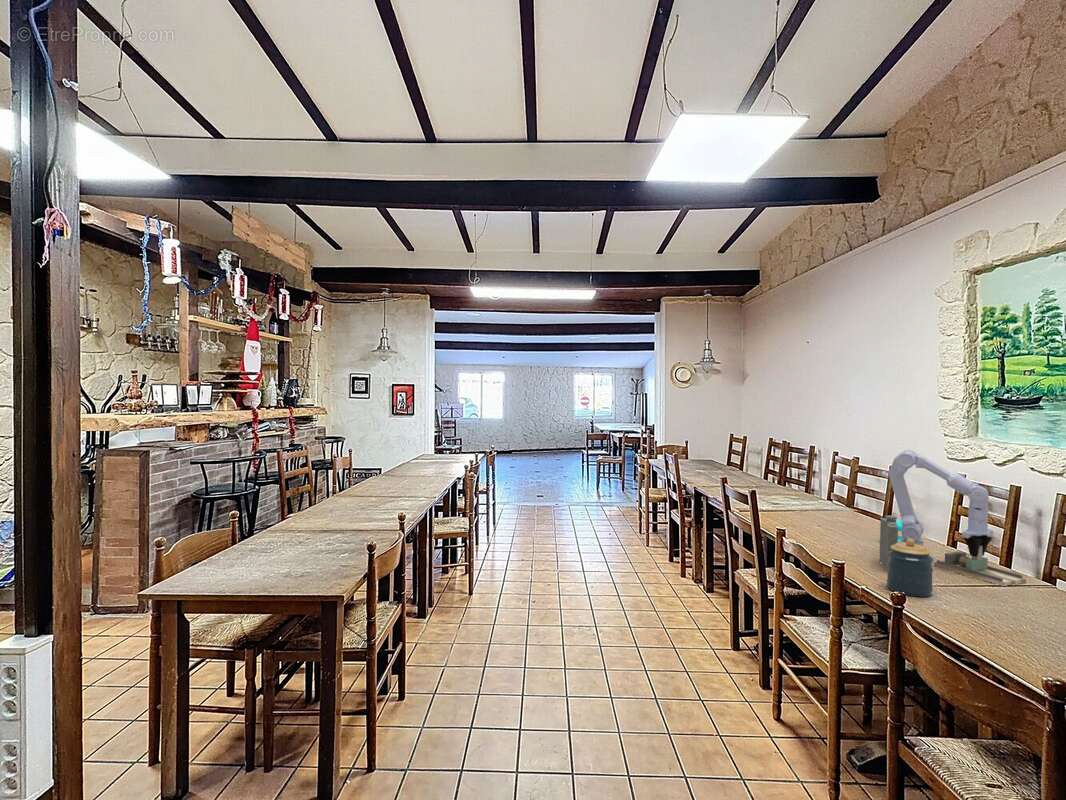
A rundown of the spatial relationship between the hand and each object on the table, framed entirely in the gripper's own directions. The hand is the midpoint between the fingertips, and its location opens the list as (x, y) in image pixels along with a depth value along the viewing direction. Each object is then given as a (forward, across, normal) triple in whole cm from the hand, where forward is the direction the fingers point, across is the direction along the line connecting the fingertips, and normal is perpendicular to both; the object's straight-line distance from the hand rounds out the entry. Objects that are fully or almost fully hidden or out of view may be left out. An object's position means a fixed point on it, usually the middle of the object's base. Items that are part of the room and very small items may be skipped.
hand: (976, 555), depth 210 cm
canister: (+7, -42, -4) cm, 43 cm away
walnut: (+3, 0, +4) cm, 5 cm away
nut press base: (+7, 0, 0) cm, 7 cm away
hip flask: (+7, -25, +16) cm, 30 cm away
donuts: (+7, +10, +40) cm, 41 cm away
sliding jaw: (+5, 0, 0) cm, 5 cm away
